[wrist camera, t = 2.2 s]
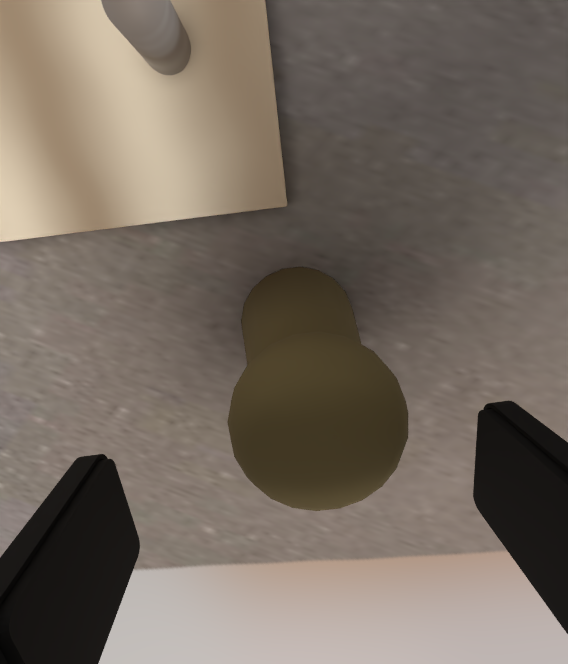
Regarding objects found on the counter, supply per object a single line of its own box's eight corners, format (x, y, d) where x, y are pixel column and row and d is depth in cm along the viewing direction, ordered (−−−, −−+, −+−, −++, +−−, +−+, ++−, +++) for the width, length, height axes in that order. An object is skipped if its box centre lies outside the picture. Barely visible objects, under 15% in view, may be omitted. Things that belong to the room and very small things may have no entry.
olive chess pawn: (304, 392, 21) (335, 578, 10) (218, 332, 19) (156, 477, 9) (376, 313, 19) (494, 439, 9) (288, 242, 18) (309, 293, 8)
